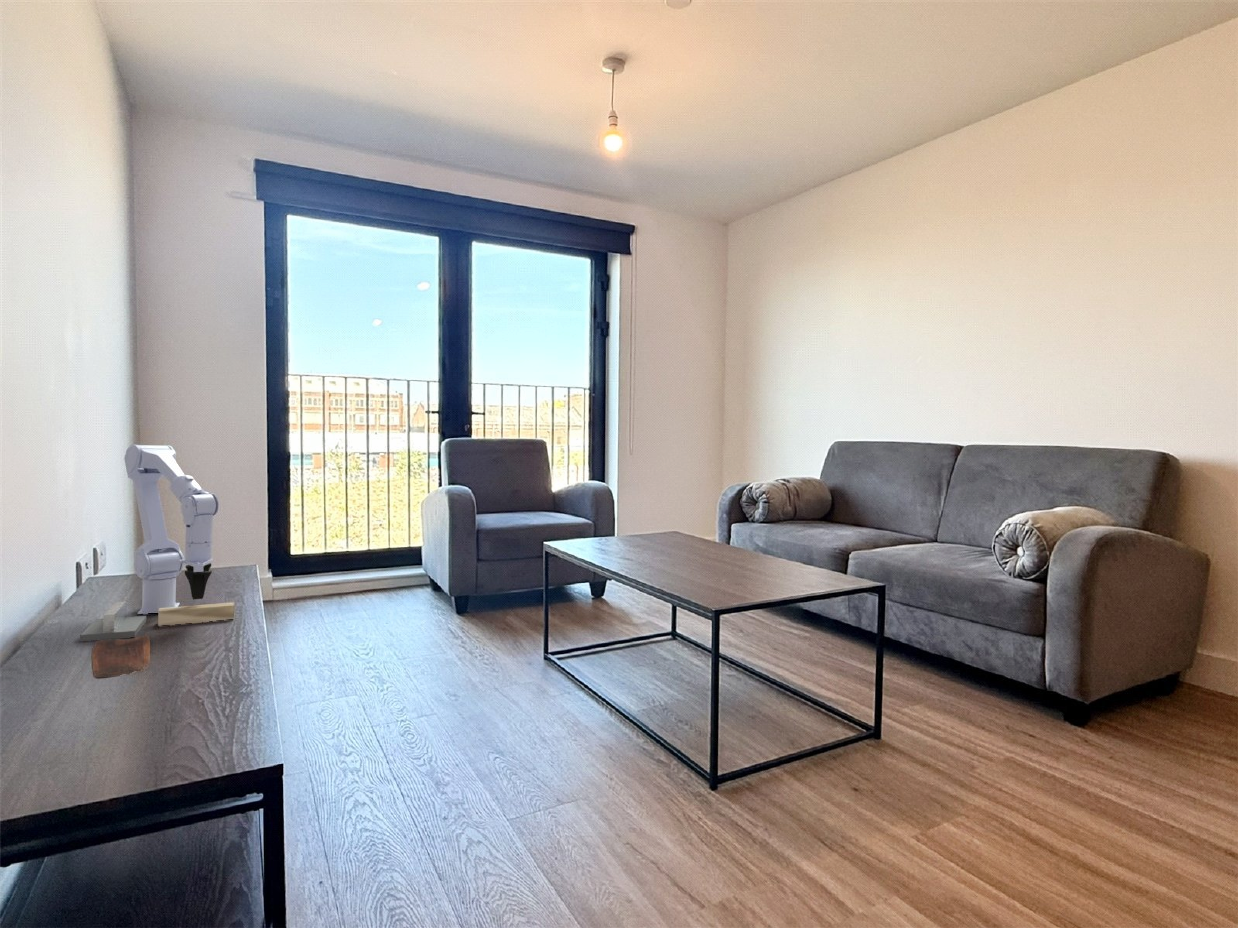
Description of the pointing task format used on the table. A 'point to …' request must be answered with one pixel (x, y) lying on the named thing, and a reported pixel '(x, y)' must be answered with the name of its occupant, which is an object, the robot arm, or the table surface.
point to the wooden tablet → (120, 656)
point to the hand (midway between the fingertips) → (197, 595)
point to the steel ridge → (114, 617)
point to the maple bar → (195, 614)
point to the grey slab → (123, 631)
